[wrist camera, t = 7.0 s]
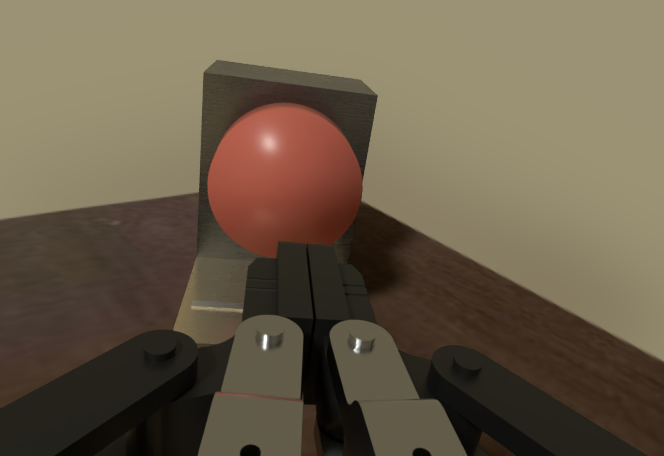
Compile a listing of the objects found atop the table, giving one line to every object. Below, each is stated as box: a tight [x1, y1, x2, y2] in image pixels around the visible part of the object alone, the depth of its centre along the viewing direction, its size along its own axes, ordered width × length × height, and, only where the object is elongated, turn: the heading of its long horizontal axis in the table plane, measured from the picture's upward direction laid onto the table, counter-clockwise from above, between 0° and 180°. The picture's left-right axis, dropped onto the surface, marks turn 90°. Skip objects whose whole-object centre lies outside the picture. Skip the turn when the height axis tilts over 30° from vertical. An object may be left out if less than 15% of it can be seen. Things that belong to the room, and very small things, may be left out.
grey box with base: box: [173, 60, 378, 348], centre depth 27 cm, size 14×9×12 cm, turn 6°
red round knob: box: [207, 102, 362, 258], centre depth 27 cm, size 10×7×7 cm
